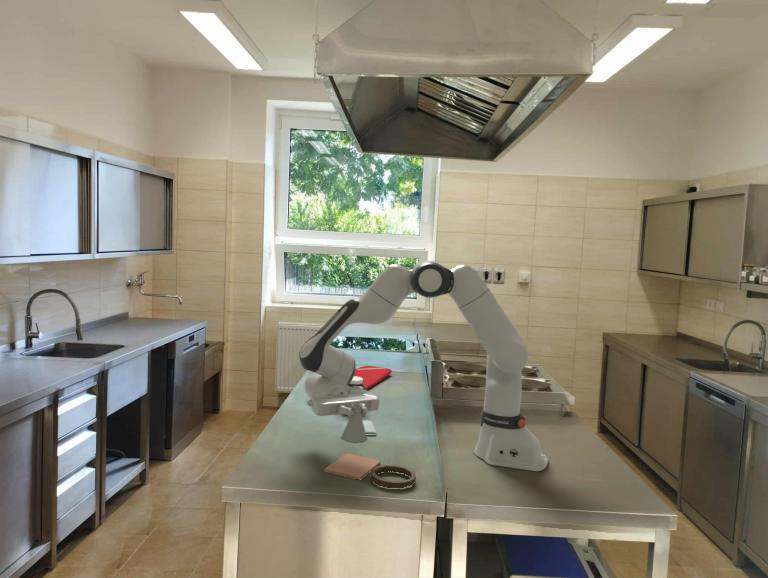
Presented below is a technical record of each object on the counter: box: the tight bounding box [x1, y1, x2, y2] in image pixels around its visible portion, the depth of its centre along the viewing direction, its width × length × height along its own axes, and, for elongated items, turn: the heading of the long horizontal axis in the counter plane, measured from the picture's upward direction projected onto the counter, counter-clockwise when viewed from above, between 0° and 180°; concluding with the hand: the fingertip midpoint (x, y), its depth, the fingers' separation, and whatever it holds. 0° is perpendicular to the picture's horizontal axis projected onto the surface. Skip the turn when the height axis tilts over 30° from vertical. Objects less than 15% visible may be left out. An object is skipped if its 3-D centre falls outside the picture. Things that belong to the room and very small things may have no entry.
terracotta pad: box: [323, 453, 381, 481], centre depth 175 cm, size 11×14×1 cm
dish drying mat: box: [354, 365, 393, 391], centre depth 270 cm, size 16×41×4 cm, turn 160°
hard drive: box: [362, 419, 377, 435], centre depth 209 cm, size 2×8×12 cm
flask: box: [340, 404, 368, 444], centre depth 174 cm, size 7×7×10 cm
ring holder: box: [370, 464, 417, 488], centre depth 168 cm, size 12×12×2 cm
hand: (358, 412), depth 173 cm, fingers open, 3 cm apart
